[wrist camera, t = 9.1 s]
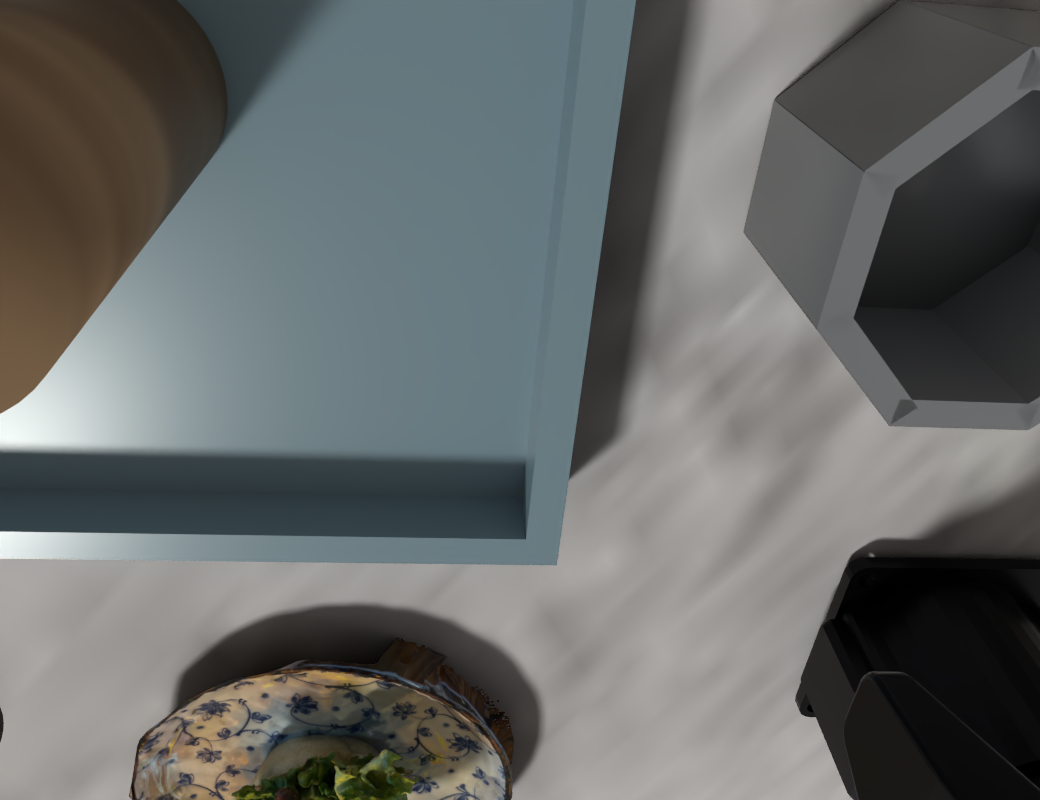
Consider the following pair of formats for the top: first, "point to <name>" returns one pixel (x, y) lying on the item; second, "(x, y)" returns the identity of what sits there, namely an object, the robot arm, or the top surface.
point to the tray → (347, 301)
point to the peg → (91, 158)
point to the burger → (332, 736)
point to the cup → (916, 211)
